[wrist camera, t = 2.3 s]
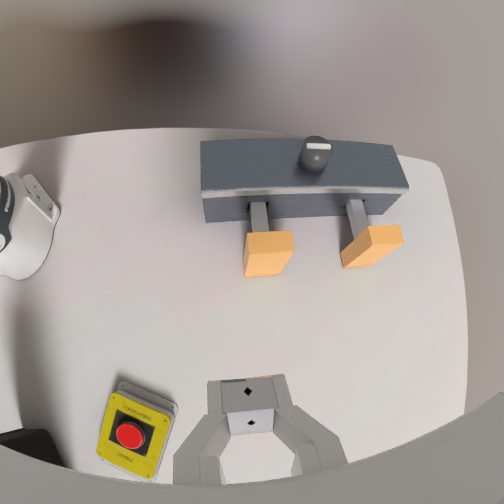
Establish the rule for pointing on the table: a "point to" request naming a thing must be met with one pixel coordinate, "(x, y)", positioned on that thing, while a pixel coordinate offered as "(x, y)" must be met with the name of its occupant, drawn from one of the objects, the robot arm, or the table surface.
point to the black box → (31, 444)
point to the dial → (315, 154)
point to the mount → (296, 179)
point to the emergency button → (136, 431)
